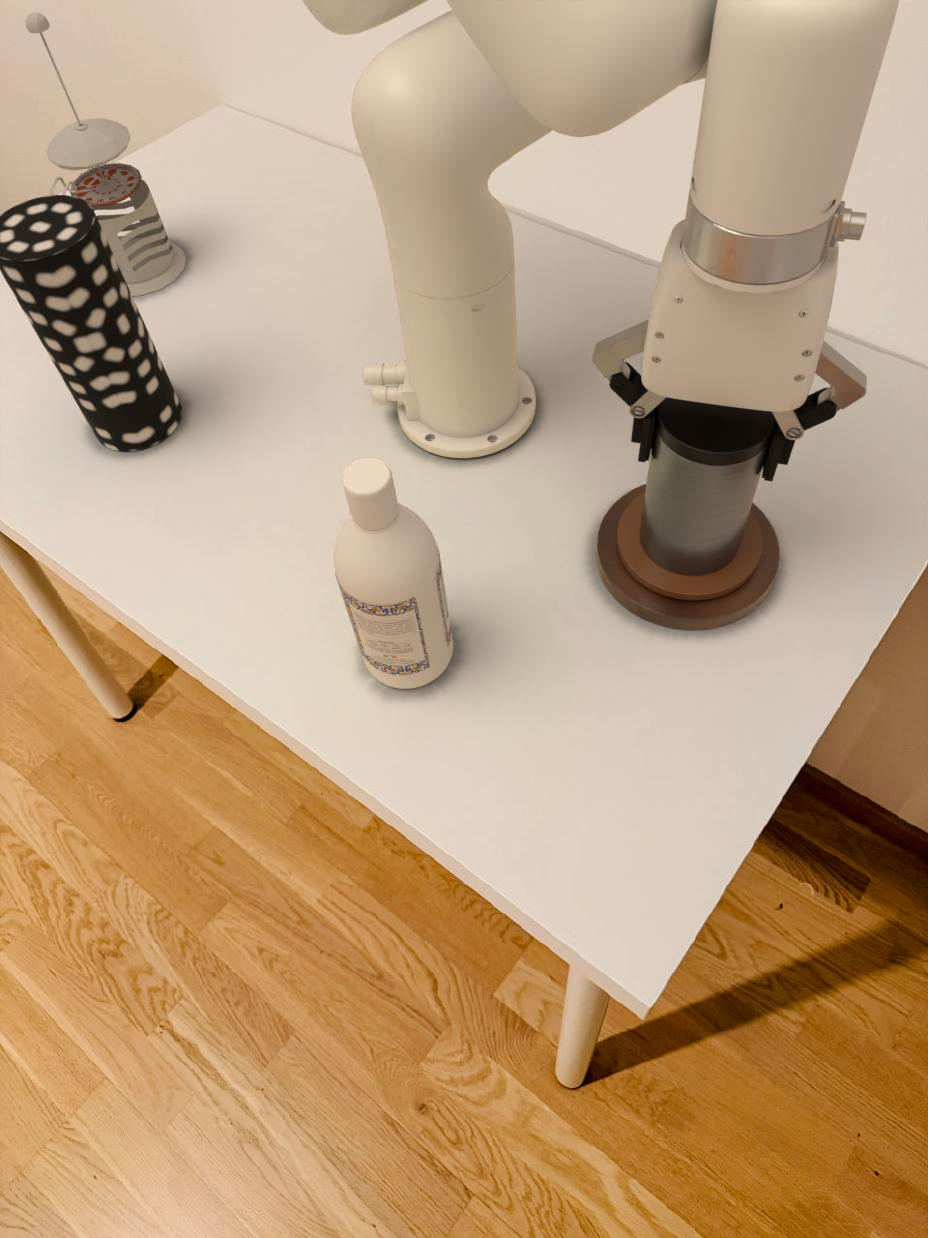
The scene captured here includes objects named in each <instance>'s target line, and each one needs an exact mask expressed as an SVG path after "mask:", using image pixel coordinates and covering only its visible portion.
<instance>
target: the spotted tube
mask: <svg viewBox="0 0 928 1238" xmlns="http://www.w3.org/2000/svg"><path fill="white" fill-rule="evenodd" d="M96 216H97V214H96V212H95V211H94V210H93V208H92V206H91V205H90V204H89V203H88V202H86V201H85V200H83V199H81V198H77V197H74V196H71V195H67V194H65V195H62V194H53V195H51V196H50V195H43V196H40V197H39V196H38V197H34V198H32V199H28V200H25V201H23V202H20V203H19V204H16V205H14V206H12V207H10V208H9V209H7V210H5V211H4V212H3V213H1V214H0V274H1V275H2V276H3V278H4V280H5V282H6V284H7V285H8V287H9V289H10V290H11V292H12V294H13V296H14V297H15V299H16V301H17V302H18V304H19V306H20V308H21V310H22V311H23V313H24V315H25V317H26V318H27V320H28V321H29V323H30V326H31V327H32V328H33V330H34V333H35V334H36V335H37V337H38V339H39V341H40V343H41V344H42V346H43V348H44V349H45V351H46V353H47V355H48V357H49V359H50V360H51V361H52V363H53V365H54V366H55V368H56V370H57V372H58V373H59V375H60V378H61V379H62V380H63V382H64V385H65V386H66V387H67V389H68V391H69V392H70V395H71V396H72V398H73V399H74V401H75V403H76V404H77V407H78V408H79V410H80V412H81V414H82V415H83V417H84V419H85V420H86V422H87V424H88V425H89V427H90V429H91V431H92V433H93V434H94V436H95V437H96V439H97V440H98V442H99V443H100V444H101V445H103V446H104V447H106V448H107V449H110V450H112V451H117V452H125V453H127V452H128V453H129V452H138V451H141V450H146V449H149V448H151V447H154V446H155V445H158V444H160V443H161V442H163V441H164V440H166V439H167V438H169V437H170V435H171V434H173V432H174V431H175V430H177V428H178V426H179V424H180V422H181V419H182V415H183V407H182V404H181V402H180V400H179V397H178V395H177V393H176V391H175V389H174V386H173V384H172V381H171V379H170V377H169V375H168V372H167V370H166V368H165V366H164V363H163V361H162V359H161V357H160V355H159V353H158V350H157V348H156V346H155V343H154V341H153V340H152V337H151V334H150V332H149V330H148V328H147V325H146V323H145V322H144V320H143V317H142V315H141V313H140V311H139V308H138V305H137V303H136V301H135V299H134V296H132V295H131V292H130V290H129V288H128V286H127V283H126V281H125V279H124V277H123V275H122V272H121V270H120V268H119V266H118V263H117V261H116V259H115V257H114V254H113V252H112V250H111V248H110V246H109V243H108V241H107V239H106V237H105V234H104V232H103V230H102V228H101V226H100V223H99V221H98V219H97V217H96Z"/></svg>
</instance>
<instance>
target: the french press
mask: <svg viewBox="0 0 928 1238" xmlns="http://www.w3.org/2000/svg"><path fill="white" fill-rule="evenodd" d="M24 22H25V28H26V29H27V31H28V33H30V34H39V35H40V37H41V40H42V42H43V45H44V47H45V49H46V51H47V54H48V56H49V58H50V60H51V64H52V65H53V68H54V70H55V73H56V75H57V78H58V80H59V82H60V84H61V87H62V89H63V91H64V93H65V95H66V98H67V100H68V103H69V105H70V107H71V109H72V112H73V114H74V116H75V119H76V121H75V122H72V123H69V124H67V125H65V126H64V127H63V128H62V129H61V130H60V131H59V132H56V134H55V135H54V136H53V137H52V139H51V140H50V142H49V144H48V146H47V148H46V150H45V153H46V156H47V158H48V161H50V163H52V164H54V165H55V166H56V167H58V168H60V169H63V170H67V171H73V172H74V171H82V170H85V171H84V172H81V173H80V174H79V175H78V177H76V178H75V179H74V180H70V181H68V182H67V183H66V182H65V181H64V178H63V177H61V176H58V177H56V178H55V179H54V181H53V183H52V184H51V187H50V190H49V196H51V195H54V189H55V187H56V185H57V183H58V181H60V182H61V183H62V185H63V188H64V189H63V191H62V194H61V195H66V193H67V191H68V192H69V193H70V196H74V197H77V198H81V199H83V200H85V201H86V202H88V203H89V204H90V205H91V206H92V208H93V210H94V212H95V211H116V210H125V209H128V208H133V209H134V210H133V211H131V212H128V213H120V214H98V215H97V214H96V217H97V219H98V221H99V223H100V226H101V228H102V230H103V232H104V234H105V237H106V239H107V241H108V243H109V246H110V248H111V250H112V252H113V254H114V257H115V259H116V261H117V263H118V266H119V268H120V270H121V272H122V275H123V277H124V279H125V281H126V283H127V286H128V288H129V290H130V292H131V295H132V297H137V296H138V297H139V296H140V297H141V296H145V295H148V294H151V293H153V292H154V293H155V292H157V291H160V290H162V289H164V288H165V287H166V286H168V285H170V284H171V283H173V282H175V281H176V280H177V278H178V277H179V276H180V275H181V274H182V273H183V272H184V270H185V267H186V262H187V256H186V255H185V252H184V250H183V248H181V247H180V246H178V245H176V244H175V243H174V242H172V241H170V238H169V236H168V234H167V231H166V228H165V225H164V224H163V220H162V218H161V215H160V213H159V210H158V209H159V208H158V207H157V205H156V203H155V200H154V199H155V198H154V197H153V194H152V192H151V190H150V187H149V185H148V184H147V182H146V181H145V180H144V179H142V178H143V176H142V174H141V172H140V170H139V169H138V168H136V167H135V166H133V165H131V164H128V163H127V164H125V163H120V162H118V163H117V162H114V163H109V162H111V161H113V160H115V159H117V158H119V157H120V156H121V154H122V153H124V151H126V150H127V148H128V146H129V144H130V140H131V133H130V132H129V129H128V127H127V126H126V125H124V124H122V123H120V122H119V121H116V120H111V119H108V118H102V117H100V118H85V119H80V118H79V116H78V114H77V111H76V109H75V107H74V104H73V102H72V100H71V97H70V95H69V93H68V90H67V88H66V86H65V83H64V80H63V78H62V76H61V74H60V72H59V71H60V70H59V69H58V67H57V65H56V62H55V60H54V57H53V55H52V52H51V51H50V48H49V45H48V44H47V41H46V39H45V36H44V34H43V33H44V32H45V31H46V32H47V31H48V30H49V29H50V27H51V25H50V22H49V20H48V18H47V17H46V16H45V15H44V14H42V13H41V12H30V13H29V14H27V16H26V18H25V21H24ZM127 199H130V200H127ZM125 200H127V201H125ZM120 232H121V233H122V232H128V233H126V234H125V235H118V234H119V233H120Z"/></svg>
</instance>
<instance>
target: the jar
mask: <svg viewBox="0 0 928 1238" xmlns="http://www.w3.org/2000/svg"><path fill="white" fill-rule="evenodd" d="M775 425H776V419H775V417H774V415H773V413H772V411H762V410H754V409H745V408H737V407H730V406H722V405H715V404H708V403H700V402H693V401H687V400H680V399H674V398H668V397H667V398H665V399H664V400H663V401H662V402H661V403H660V404H659V405H658V407H657V414H656V421H655V428H654V435H653V442H652V448H651V453H650V457H649V462H648V470H647V478H646V483H645V484H646V490H645V493H643V494H641V495H640V496H638V497H637V498H636V499H634V500H633V501H632V502H631V503H630V504H629V505H628V507H627V508H626V509H625V511H624V512H623V514H622V516H621V518H620V521H619V524H618V530H617V548H618V552H619V555H620V558H621V560H622V562H623V564H624V566H625V567H626V569H627V570H628V571H629V573H630V574H631V575H632V576H633V577H634V578H635V579H636V580H637V581H639V582H640V583H641V584H643V585H644V586H646V587H647V588H649V589H651V590H653V591H655V592H657V593H659V594H662V595H665V596H667V597H671V598H675V599H682V600H707V599H712V598H717V597H720V596H723V595H726V594H728V593H730V592H732V591H734V590H735V589H737V588H739V587H740V586H741V585H743V584H744V583H745V582H746V581H747V580H748V579H749V578H750V577H751V575H752V574H753V572H754V571H755V569H756V567H757V565H758V562H759V560H760V557H761V552H762V543H763V541H762V534H761V530H760V527H759V525H758V523H757V520H756V519H755V517H754V516H753V514H752V513H751V512H750V509H751V505H752V502H753V503H754V499H755V495H756V491H757V488H758V485H759V483H760V482H759V481H760V479H761V476H762V472H763V465H764V462H765V458H766V455H767V452H768V448H769V445H770V442H771V438H772V435H773V432H774V428H775Z"/></svg>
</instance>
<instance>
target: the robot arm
mask: <svg viewBox="0 0 928 1238" xmlns="http://www.w3.org/2000/svg"><path fill="white" fill-rule="evenodd" d="M301 1H302V2H303V4H304V6H305V7H306V9H307V10H308V11H309V12H310V14H311V15H312V16H313V17H314V19H315V20H316V21H317V22H318V23H319V24H321V25H322V27H324V28H325V29H326V30H329V31H330V32H332V33H334V34H337V35H340V36H341V35H343V36H348V35H349V36H350V35H355V34H356V35H357V34H360V33H363V32H366V31H370V30H371V29H374V28H377V27H378V26H381V25H383V24H385V23H388V22H389V21H392V20H394V19H395V18H398V17H400V16H402V15H404V14H405V13H408V12H410V11H411V10H413V9H415V8H417V7H419V6H421V5H423V4H425V3H426V2H428V1H429V0H301ZM446 2H447V4H448V5H449V7H450V9H451V10H448V11H447V12H444V13H442V14H441V15H439V16H436V17H435V18H433V19H432V20H430V21H428V22H425V23H424V24H422V25H420V26H418V27H416V28H415V29H413V30H411V31H409V32H408V33H406V34H404V35H402V36H400V37H399V38H397V39H396V40H394V41H393V42H391V43H389V44H388V45H387V46H385V47H384V48H383V49H381V50H380V51H379V52H378V53H377V54H376V55H375V56H374V57H373V58H372V59H371V60H370V61H369V62H368V64H367V65H366V66H365V67H364V69H363V70H362V72H361V73H360V75H359V77H358V79H357V81H356V82H355V85H354V88H353V92H352V97H351V106H350V111H351V112H350V113H351V122H352V128H353V132H354V136H355V139H356V142H357V144H358V148H359V151H360V154H361V156H362V159H363V161H364V164H365V167H366V169H367V172H368V175H369V177H370V181H371V184H372V186H373V189H374V192H375V196H376V199H377V203H378V207H379V210H380V215H381V219H382V223H383V227H384V232H385V237H386V244H387V249H388V254H389V261H390V266H391V272H392V278H393V283H394V290H395V296H396V303H397V310H398V315H399V321H400V327H401V333H402V339H403V347H404V352H405V358H406V360H399V361H398V362H397V364H385V363H364V364H363V366H362V382H363V384H364V386H373V387H372V391H371V394H372V395H371V396H372V402H373V403H389V402H397V403H396V404H397V405H396V406H397V407H396V408H397V409H396V410H397V416H398V421H399V424H400V428H401V429H402V431H403V432H404V434H405V435H406V437H407V438H408V439H409V440H410V441H411V442H412V443H414V445H416V446H417V447H419V448H421V449H423V450H424V451H425V452H429V453H431V454H434V455H436V456H441V457H445V458H451V459H470V458H471V459H472V458H480V457H484V456H488V455H492V454H495V453H497V452H500V451H501V450H502V451H503V449H506V448H508V447H509V446H511V445H512V444H513V443H516V442H517V441H518V440H519V439H520V438H521V437H522V436H523V435H525V433H526V432H527V431H528V429H529V428H530V427H531V425H532V423H533V420H534V418H535V416H536V408H537V394H536V391H535V387H534V384H533V383H532V381H531V379H530V377H529V375H527V374H526V373H525V372H524V370H523V369H522V368H520V367H519V366H518V337H517V336H518V334H517V333H518V332H517V331H518V330H517V298H516V297H517V295H516V267H515V266H516V265H515V264H516V263H515V240H514V231H513V227H512V222H511V218H510V216H509V214H508V212H507V210H506V208H505V207H504V205H502V204H501V202H500V201H499V200H498V199H497V198H496V197H495V196H493V194H492V193H491V192H490V189H489V186H488V185H489V179H490V177H491V175H492V173H493V172H494V171H495V170H497V168H499V167H500V166H501V165H503V164H504V163H506V162H507V161H510V159H512V158H513V157H514V156H515V155H517V154H519V153H520V152H521V151H523V150H525V149H526V148H528V147H530V146H531V145H533V144H534V143H537V141H539V140H540V139H542V138H544V137H545V136H546V135H548V134H550V133H551V132H552V131H553V132H556V133H558V134H561V135H564V136H568V137H573V138H584V137H585V138H586V137H592V136H599V135H601V134H603V133H607V132H608V131H611V130H612V129H614V128H616V127H617V126H619V125H621V124H623V123H624V122H626V121H628V120H630V119H631V118H633V117H634V116H637V114H640V113H641V112H642V111H643V110H645V109H646V108H648V107H649V106H651V105H653V104H654V103H655V102H657V101H659V100H661V99H662V98H663V97H665V96H667V95H668V94H669V93H671V92H672V91H674V90H676V89H677V88H678V87H680V86H683V85H686V84H690V83H694V82H697V81H701V80H704V86H703V93H702V101H701V102H702V103H701V108H700V114H699V121H698V129H697V135H696V142H695V148H694V155H693V156H694V157H693V162H692V170H691V175H690V184H689V191H688V197H687V202H686V203H687V204H686V212H685V218H683V219H682V220H680V221H679V222H677V223H676V224H675V225H674V226H673V228H672V230H671V232H670V235H669V237H668V240H667V241H666V245H665V247H664V251H663V254H662V257H661V260H660V264H659V269H658V272H657V273H658V274H657V277H656V281H655V285H654V292H653V296H652V300H651V301H652V302H651V305H650V311H649V316H648V319H646V320H644V321H641V322H640V323H637V324H634V325H633V326H630V327H628V328H626V329H624V330H621V331H618V332H616V333H614V334H612V335H609V336H608V337H606V338H603V339H600V340H599V341H597V342H596V343H595V345H594V349H593V352H592V356H591V361H592V363H593V364H594V365H595V367H596V368H597V369H598V371H599V372H600V374H601V375H602V376H603V378H604V379H606V380H607V381H608V382H609V384H608V385H609V389H611V391H612V392H614V393H615V394H616V395H617V396H618V397H619V399H621V400H622V401H623V402H624V403H625V404H626V405H627V406H628V407H629V410H628V412H629V415H630V416H631V417H632V418H633V419H632V420H633V421H632V428H631V437H630V443H634V444H639V450H638V457H637V462H638V463H646V462H650V456H651V449H652V442H653V435H654V428H655V421H656V414H657V407H658V405H659V404H660V403H661V402H662V401H663V400H664V399H665V398H667V397H668V398H674V399H680V400H687V401H693V402H700V403H708V404H715V405H722V406H730V407H737V408H745V409H754V410H762V411H772V413H773V415H774V417H775V419H776V425H775V428H774V432H773V435H772V438H771V442H770V445H769V448H768V452H767V455H766V458H765V462H764V465H763V469H762V472H761V479H764V481H766V482H773V481H774V477H775V475H776V471H777V469H778V465H784V466H788V464H789V461H790V458H791V455H792V452H793V449H794V447H795V443H796V441H798V440H801V439H802V438H803V437H804V435H805V431H808V430H809V429H812V428H814V427H816V426H818V425H821V424H823V423H825V422H828V421H829V420H832V419H833V418H835V416H836V414H837V412H839V411H840V410H845V409H846V408H848V407H849V406H851V405H852V404H854V403H856V402H857V401H859V400H861V399H862V398H864V397H865V395H867V387H868V376H867V374H865V373H864V372H863V371H862V370H861V369H860V368H858V367H857V366H856V365H855V364H853V363H852V362H851V361H850V360H848V359H847V358H846V357H845V356H844V355H842V354H841V353H840V352H838V351H837V350H836V349H835V348H833V346H831V345H830V344H829V343H828V342H826V341H825V337H826V332H827V327H828V324H829V319H830V315H831V309H832V304H833V297H834V291H835V284H836V280H837V277H838V276H837V275H838V268H839V254H840V253H839V252H840V251H839V248H840V247H839V242H840V243H841V242H842V243H844V242H845V240H851V241H861V238H862V236H863V232H864V228H865V225H866V219H867V212H863V211H853V209H852V208H850V207H845V206H846V201H845V200H842V199H843V195H844V192H845V189H846V186H847V182H848V179H849V175H850V172H851V169H852V166H853V162H854V159H855V155H856V153H857V148H858V145H859V142H860V138H861V136H862V133H863V132H862V131H863V129H864V125H865V122H866V118H867V115H868V111H869V108H870V105H871V102H872V98H873V95H874V92H875V88H876V85H877V82H878V78H879V75H880V71H881V67H882V64H883V61H884V57H885V54H886V52H887V47H888V43H889V41H890V37H891V33H892V30H893V27H894V24H895V19H896V14H897V11H898V6H899V3H900V0H446ZM640 353H642V360H641V361H642V362H641V373H640V372H639V371H638V370H637V369H635V368H634V367H633V365H631V364H630V363H629V362H627V361H626V359H628V358H631V357H633V356H636V355H638V354H640ZM815 375H817V376H818V377H819V378H821V379H822V380H823V381H824V382H825V383H827V384H828V385H829V387H824V388H823V387H822V388H821V389H819V390H816V391H814V392H812V393H810V392H811V388H812V386H813V382H814V379H815ZM385 385H397V387H395V386H393V387H392V386H385Z"/></svg>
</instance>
